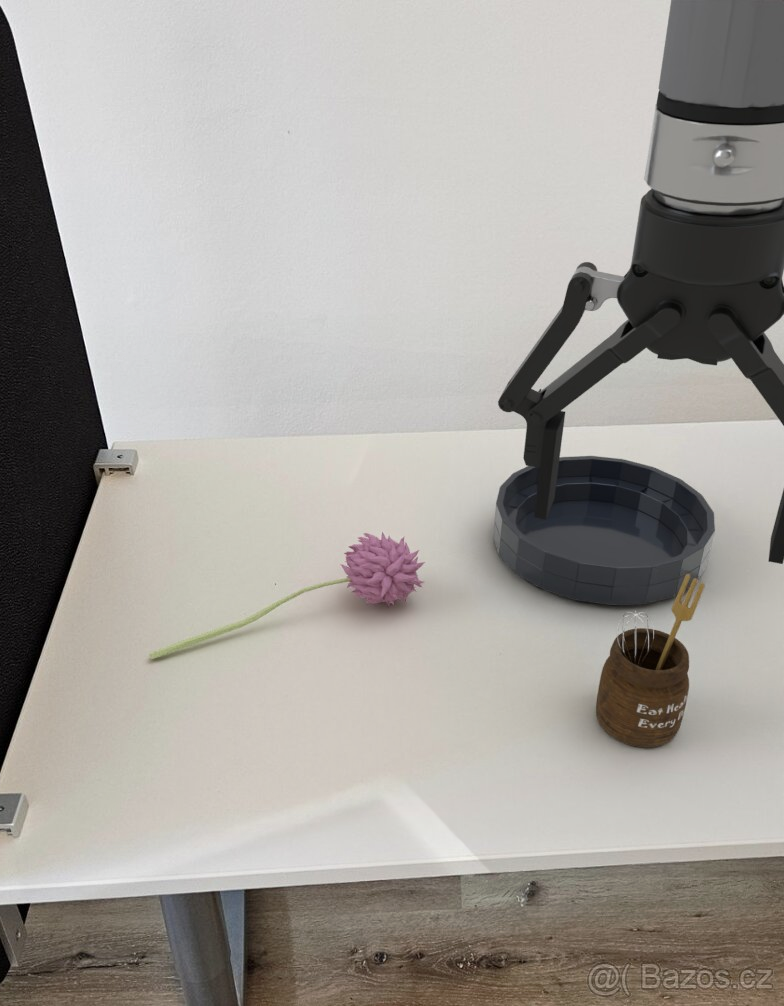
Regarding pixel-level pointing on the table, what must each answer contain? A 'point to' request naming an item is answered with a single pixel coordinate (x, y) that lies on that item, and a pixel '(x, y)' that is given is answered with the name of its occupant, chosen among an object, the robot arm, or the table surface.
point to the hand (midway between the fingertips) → (655, 528)
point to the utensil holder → (647, 680)
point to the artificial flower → (372, 571)
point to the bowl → (605, 531)
